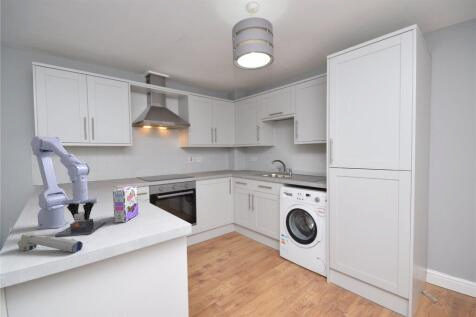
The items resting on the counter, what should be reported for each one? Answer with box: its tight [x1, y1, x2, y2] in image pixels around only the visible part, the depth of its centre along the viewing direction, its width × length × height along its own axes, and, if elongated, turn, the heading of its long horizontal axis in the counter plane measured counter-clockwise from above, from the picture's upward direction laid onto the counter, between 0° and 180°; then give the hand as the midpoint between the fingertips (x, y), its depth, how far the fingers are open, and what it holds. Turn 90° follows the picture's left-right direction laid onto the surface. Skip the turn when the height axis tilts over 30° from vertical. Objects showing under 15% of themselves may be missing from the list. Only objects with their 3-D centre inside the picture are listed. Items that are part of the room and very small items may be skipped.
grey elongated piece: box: [17, 231, 84, 254], centre depth 80 cm, size 5×7×25 cm
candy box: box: [112, 185, 139, 224], centre depth 114 cm, size 14×6×16 cm, turn 179°
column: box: [73, 211, 90, 223], centre depth 99 cm, size 4×4×7 cm
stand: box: [54, 218, 107, 238], centre depth 100 cm, size 14×14×4 cm
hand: (81, 219), depth 99 cm, fingers closed on column, 4 cm apart
